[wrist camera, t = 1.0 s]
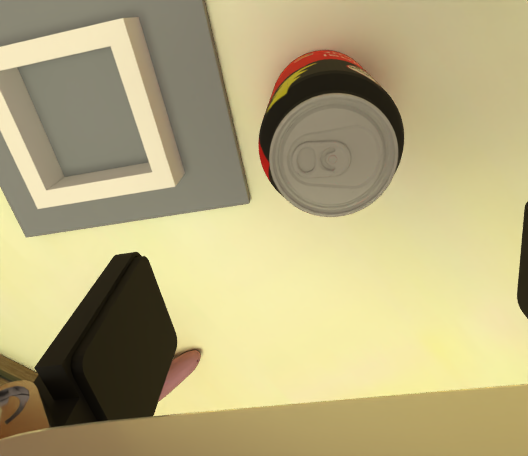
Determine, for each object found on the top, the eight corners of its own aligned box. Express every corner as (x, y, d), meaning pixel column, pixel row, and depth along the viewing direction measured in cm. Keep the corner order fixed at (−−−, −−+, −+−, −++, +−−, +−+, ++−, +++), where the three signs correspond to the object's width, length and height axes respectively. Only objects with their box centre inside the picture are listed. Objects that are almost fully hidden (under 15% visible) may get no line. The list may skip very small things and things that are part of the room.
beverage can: (368, 146, 29) (407, 227, 18) (275, 150, 29) (260, 231, 19) (372, 44, 26) (421, 71, 15) (269, 52, 27) (247, 83, 16)
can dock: (191, -57, 24) (176, -65, 21) (250, 199, 31) (245, 218, 28) (-78, 13, 27) (-124, 13, 24) (31, 232, 34) (6, 253, 31)
